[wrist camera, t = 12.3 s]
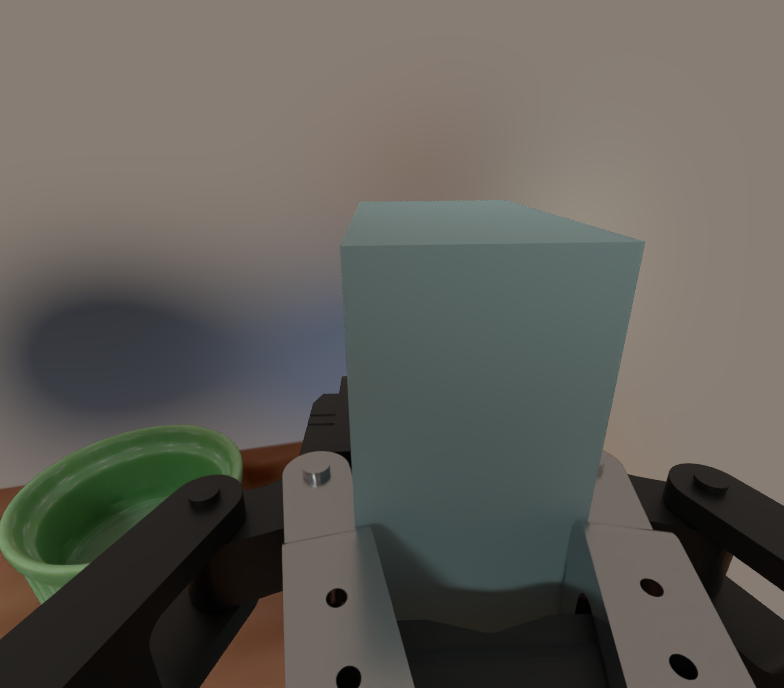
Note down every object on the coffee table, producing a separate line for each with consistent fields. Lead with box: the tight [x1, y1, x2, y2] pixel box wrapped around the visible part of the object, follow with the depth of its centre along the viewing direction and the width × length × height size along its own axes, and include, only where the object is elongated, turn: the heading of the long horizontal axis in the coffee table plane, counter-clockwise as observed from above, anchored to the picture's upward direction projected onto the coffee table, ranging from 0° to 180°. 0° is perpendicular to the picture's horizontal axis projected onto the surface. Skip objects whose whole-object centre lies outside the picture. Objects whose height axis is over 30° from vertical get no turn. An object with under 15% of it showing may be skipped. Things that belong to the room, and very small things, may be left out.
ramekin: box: [0, 425, 243, 605], centre depth 20 cm, size 9×9×4 cm
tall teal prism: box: [340, 200, 645, 633], centre depth 10 cm, size 4×6×13 cm, turn 2°
